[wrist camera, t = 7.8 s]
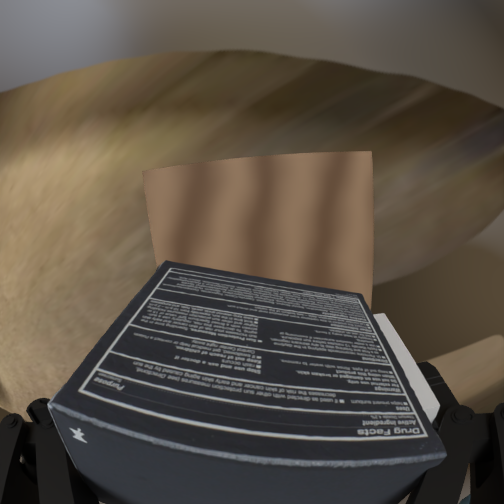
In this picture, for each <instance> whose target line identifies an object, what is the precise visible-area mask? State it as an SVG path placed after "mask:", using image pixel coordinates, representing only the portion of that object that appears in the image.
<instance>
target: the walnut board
mask: <svg viewBox="0 0 504 504" xmlns="http://www.w3.org/2000/svg"><path fill="white" fill-rule="evenodd" d="M142 172H143V180H144V188H145V196H146V203H147V210H148V217H149V223H150V229H151V235H152V241H153V247H154V253H155V258H156V264H157V267H158V266H159V265H160V264H162V263H163V262H164V261H165V260H168V261H172V262H178V263H184V264H189V265H195V266H201V267H207V268H212V269H218V270H223V271H230V272H234V273H241V274H247V275H252V276H258V277H264V278H269V279H275V280H282V281H288V282H293V283H301V284H306V285H312V286H318V287H325V288H330V289H337V290H343V291H348V292H355V293H361V294H362V295H363V297H364V299H365V301H366V303H367V305H368V306H369V309H370V310H371V298H372V282H373V258H374V190H373V166H372V151H361V152H321V153H300V154H283V155H270V156H257V157H246V158H236V159H226V160H217V161H209V162H201V163H193V164H186V165H179V166H172V167H165V168H159V169H152V170H146V171H142Z"/></svg>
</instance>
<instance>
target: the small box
mask: <svg viewBox="0 0 504 504" xmlns="http://www.w3.org/2000/svg"><path fill="white" fill-rule="evenodd" d="M47 405H48V409H49V411H50V414H51V416H52V418H53V420H54V423H55V426H56V428H57V429H58V432H59V434H60V436H61V438H62V441H63V443H64V445H65V447H66V450H67V451H68V453H69V455H70V457H71V459H72V461H73V463H74V465H75V467H76V469H77V471H78V472H79V474H80V476H81V478H82V480H83V481H84V483H85V484H86V485H87V486H88V487H89V489H90V490H91V491H92V492H93V493H94V494H95V495H96V496H97V497H98V501H100V502H102V503H105V504H398V503H399V502H400V501H401V500H402V499H404V498H405V497H406V496H407V495H408V494H409V493H410V492H411V491H412V490H414V489H415V488H416V487H417V485H418V484H419V482H420V481H421V479H422V478H423V476H424V475H425V473H426V471H427V470H428V469H429V468H432V467H435V466H437V465H439V464H440V463H441V462H442V461H443V460H444V459H445V457H446V456H447V453H446V450H445V447H444V445H443V443H442V441H441V439H440V437H439V436H438V434H437V433H436V431H435V430H434V429H433V427H432V424H431V422H430V420H429V418H428V417H427V415H426V413H425V411H424V410H423V408H422V406H421V404H420V402H419V400H418V398H417V396H416V394H415V391H414V390H413V389H412V387H411V386H410V382H409V380H408V378H407V377H406V375H405V372H404V370H403V368H402V366H401V365H400V363H399V361H398V359H397V357H396V355H395V354H394V352H393V350H392V348H391V346H390V345H389V343H388V341H387V339H386V337H385V336H384V333H383V332H382V331H381V329H380V326H379V324H378V323H377V321H376V319H375V318H374V316H373V314H372V313H371V310H370V309H369V306H368V305H367V303H366V301H365V299H364V297H363V295H362V294H361V293H355V292H348V291H343V290H337V289H330V288H325V287H318V286H312V285H306V284H301V283H293V282H288V281H282V280H275V279H269V278H264V277H258V276H252V275H247V274H241V273H234V272H230V271H223V270H218V269H212V268H207V267H201V266H195V265H189V264H184V263H178V262H172V261H168V260H165V261H164V262H163V263H162V264H160V265H159V266H158V267H157V270H156V272H155V273H154V275H153V276H152V277H151V278H150V280H149V281H148V282H147V283H146V284H145V285H144V286H143V288H142V289H141V290H140V291H139V292H138V293H137V294H136V296H135V297H134V298H133V299H132V300H131V301H130V303H129V304H128V305H127V307H126V308H125V309H124V310H123V311H122V313H121V314H120V315H119V316H118V317H117V319H116V320H115V321H114V323H113V324H112V325H111V326H110V327H109V329H108V330H107V331H106V333H105V334H104V335H103V336H102V337H101V338H100V340H99V341H98V342H97V344H96V345H95V346H94V348H93V349H92V350H91V351H90V353H89V354H88V355H87V356H86V357H85V359H84V361H83V362H82V363H81V365H80V366H79V367H78V369H77V370H76V371H75V372H74V373H73V375H72V376H71V377H70V379H69V380H68V382H67V383H66V384H65V385H63V387H62V388H61V389H60V390H59V391H58V392H56V393H55V395H54V396H53V397H52V398H51V400H50V401H49V402H48V404H47Z"/></svg>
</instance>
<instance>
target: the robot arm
mask: <svg viewBox="0 0 504 504" xmlns="http://www.w3.org/2000/svg"><path fill="white" fill-rule="evenodd" d="M373 316H374V318H375V319H376V321H377V323H378V324H379V326H380V329H381V331H382V332H383V333H384V336H385V337H386V339H387V341H388V343H389V345H390V346H391V348H392V350H393V352H394V354H395V355H396V357H397V359H398V361H399V363H400V365H401V366H402V368H403V370H404V372H405V375H406V377H407V378H408V380H409V382H410V386H411V387H412V389H413V390H414V391H415V394H416V396H417V398H418V400H419V402H420V404H421V406H422V408H423V410H424V411H425V413H426V415H427V417H428V418H429V420H430V422H431V424H432V427H433V429H434V430H435V431H436V433H437V434H438V436H439V437H440V439H441V441H442V443H443V445H444V447H445V450H446V453H447V456H446V457H445V459H444V460H443V461H442V462H441V463H440V464H439V465H437V466H435V467H432V468H429V469H428V470H427V471H426V473H425V475H424V476H423V478H422V479H421V481H420V482H419V484H418V485H417V487H416V488H415V489H414V490H412V491H411V493H410V495H409V497H408V500H407V502H406V504H457V503H458V500H459V497H460V494H461V490H462V487H463V483H464V480H465V476H466V472H467V467H468V463H470V485H471V486H470V488H471V491H470V495H468V496H467V497H465V498H464V499H462V500H461V502H460V503H459V504H504V403H500V404H499V405H498V406H496V408H495V410H494V412H493V413H483V414H475V413H474V411H473V410H472V409H470V408H469V407H467V406H464V405H459V403H458V402H457V400H456V398H455V397H454V395H453V394H452V392H451V390H450V389H449V387H448V386H447V384H446V383H445V381H444V380H443V378H442V377H441V375H440V373H439V372H438V370H437V369H436V367H434V366H433V365H431V364H430V363H429V362H427V361H426V362H421V363H415V361H414V360H413V358H412V356H411V355H410V353H409V352H408V350H407V348H406V347H405V345H404V344H403V342H402V340H401V339H400V337H399V336H398V334H397V333H396V331H395V329H394V328H393V326H392V325H391V323H390V322H389V320H388V319H387V317H386V315H385V314H375V315H373ZM49 401H50V399H47V398H39V399H37V400H34V401H33V402H32V403H30V405H29V406H28V407H27V410H26V412H27V413H28V415H29V416H30V418H31V420H32V421H33V422H25V421H24V419H23V418H22V416H21V415H19V414H16V413H13V414H9V415H7V416H6V417H4V418H3V420H2V421H1V423H0V504H99V501H98V497H97V496H96V495H95V494H94V493H93V492H92V491H91V490H90V489H89V487H88V486H87V485H86V484H85V483H84V481H83V480H82V478H81V476H80V474H79V472H78V471H77V469H76V467H75V465H74V463H73V461H72V459H71V457H70V455H69V453H68V451H67V450H66V447H65V445H64V443H63V441H62V438H61V436H60V434H59V432H58V429H57V428H56V426H55V423H54V420H53V418H52V416H51V414H50V411H49V409H48V405H47V404H48V402H49ZM20 457H22V458H23V460H22V462H20Z"/></svg>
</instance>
